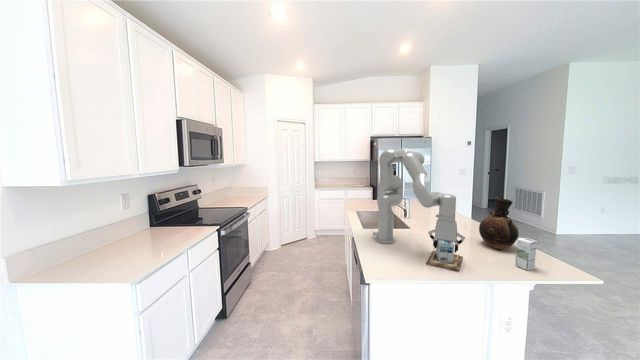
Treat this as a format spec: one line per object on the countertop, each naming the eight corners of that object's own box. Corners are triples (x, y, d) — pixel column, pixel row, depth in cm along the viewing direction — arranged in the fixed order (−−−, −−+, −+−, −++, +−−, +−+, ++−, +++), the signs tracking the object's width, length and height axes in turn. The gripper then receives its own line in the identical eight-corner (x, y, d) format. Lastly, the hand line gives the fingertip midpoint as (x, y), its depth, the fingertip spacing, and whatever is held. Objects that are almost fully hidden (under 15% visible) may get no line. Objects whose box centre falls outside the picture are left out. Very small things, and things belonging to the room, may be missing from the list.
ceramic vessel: (471, 241, 159) (473, 195, 156) (496, 239, 161) (499, 194, 157) (496, 254, 138) (500, 202, 135) (525, 253, 140) (530, 201, 136)
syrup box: (535, 269, 121) (537, 240, 120) (527, 271, 119) (529, 242, 117) (522, 264, 127) (524, 236, 125) (514, 266, 124) (516, 238, 123)
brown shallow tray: (426, 264, 128) (426, 260, 127) (432, 252, 142) (432, 248, 142) (459, 272, 119) (459, 267, 119) (462, 258, 134) (462, 254, 134)
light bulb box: (453, 264, 125) (454, 244, 123) (438, 262, 127) (440, 243, 124) (448, 253, 135) (450, 235, 133) (435, 252, 137) (436, 234, 135)
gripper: (427, 217, 130) (426, 248, 132) (465, 222, 120) (463, 256, 122) (430, 214, 136) (429, 244, 138) (466, 218, 126) (464, 250, 128)
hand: (445, 249), depth 130 cm, fingers open, 9 cm apart
